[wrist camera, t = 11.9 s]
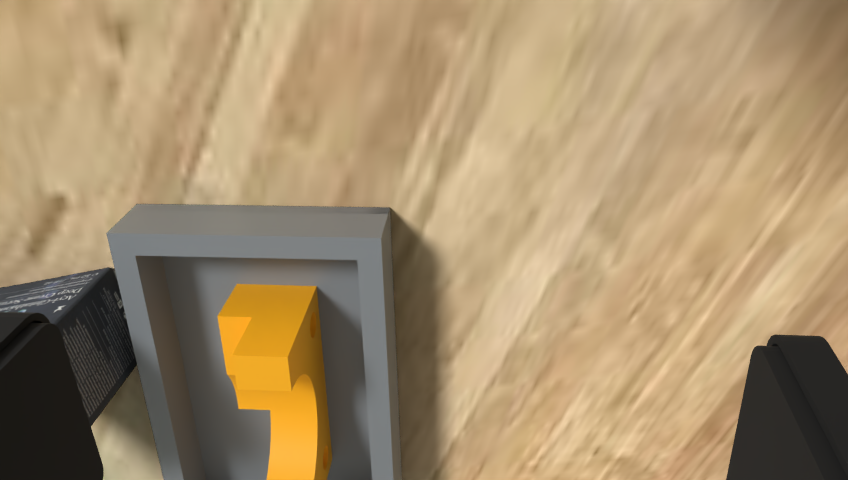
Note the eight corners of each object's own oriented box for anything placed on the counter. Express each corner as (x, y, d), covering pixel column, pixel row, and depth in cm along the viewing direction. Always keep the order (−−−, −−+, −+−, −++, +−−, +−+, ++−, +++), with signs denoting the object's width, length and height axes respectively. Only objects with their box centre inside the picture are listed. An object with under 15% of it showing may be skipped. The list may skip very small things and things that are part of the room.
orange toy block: (236, 283, 40) (194, 354, 35) (316, 286, 40) (287, 357, 34) (261, 455, 46) (228, 541, 40) (332, 458, 45) (309, 545, 40)
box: (112, 262, 41) (0, 380, 32) (152, 346, 44) (59, 479, 34) (-11, 286, 43) (-154, 405, 33) (34, 366, 45) (-87, 499, 36)
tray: (390, 207, 38) (380, 238, 35) (402, 502, 48) (396, 547, 44) (136, 203, 40) (106, 233, 36) (196, 492, 49) (176, 535, 46)
